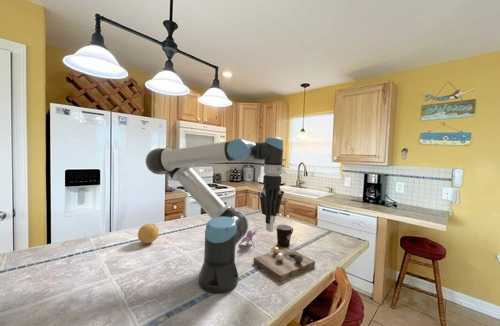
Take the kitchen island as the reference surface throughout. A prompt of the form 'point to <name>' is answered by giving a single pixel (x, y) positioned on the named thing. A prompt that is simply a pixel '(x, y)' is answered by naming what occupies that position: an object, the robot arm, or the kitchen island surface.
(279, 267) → the board
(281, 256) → the steel ball
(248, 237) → the lily
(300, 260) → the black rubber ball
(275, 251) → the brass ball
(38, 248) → the kitchen island surface
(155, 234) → the stress ball
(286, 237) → the coffee mug
